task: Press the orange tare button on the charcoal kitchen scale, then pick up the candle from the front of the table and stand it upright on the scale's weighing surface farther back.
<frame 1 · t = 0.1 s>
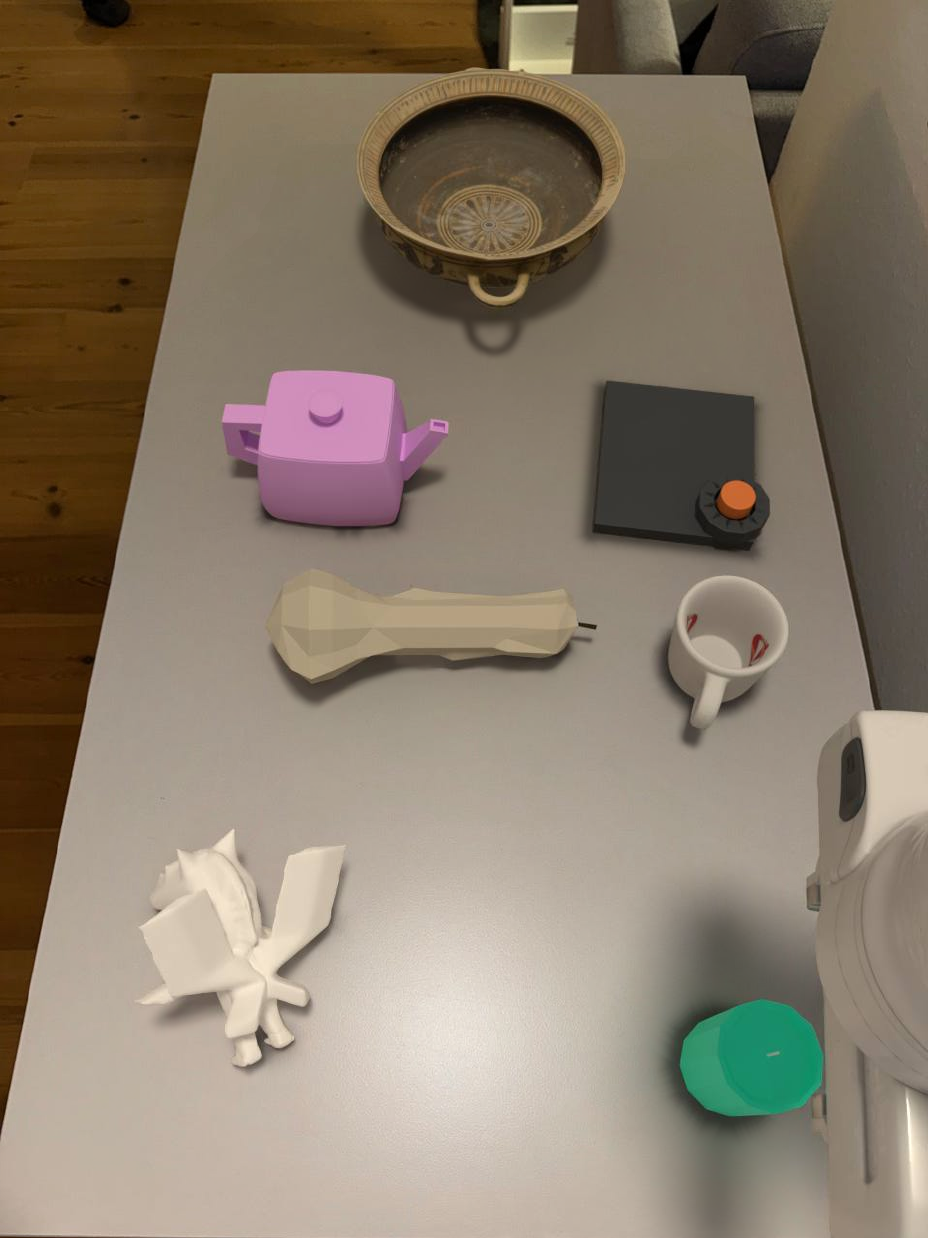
hand: (825, 1001, 47), 23 cm above the table, tool pointing down, fingers open, 8 cm apart
figurine: (240, 951, 70), on the table
tare button: (736, 499, 83), point 3 cm above the table, slide at 0.1 cm
candle: (724, 1065, 67), on the table
ceramic bowl: (487, 244, 100), on the table
cup: (703, 685, 79), on the table
scale: (674, 467, 88), on the table
teapot: (342, 479, 87), on the table
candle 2: (434, 652, 80), on the table
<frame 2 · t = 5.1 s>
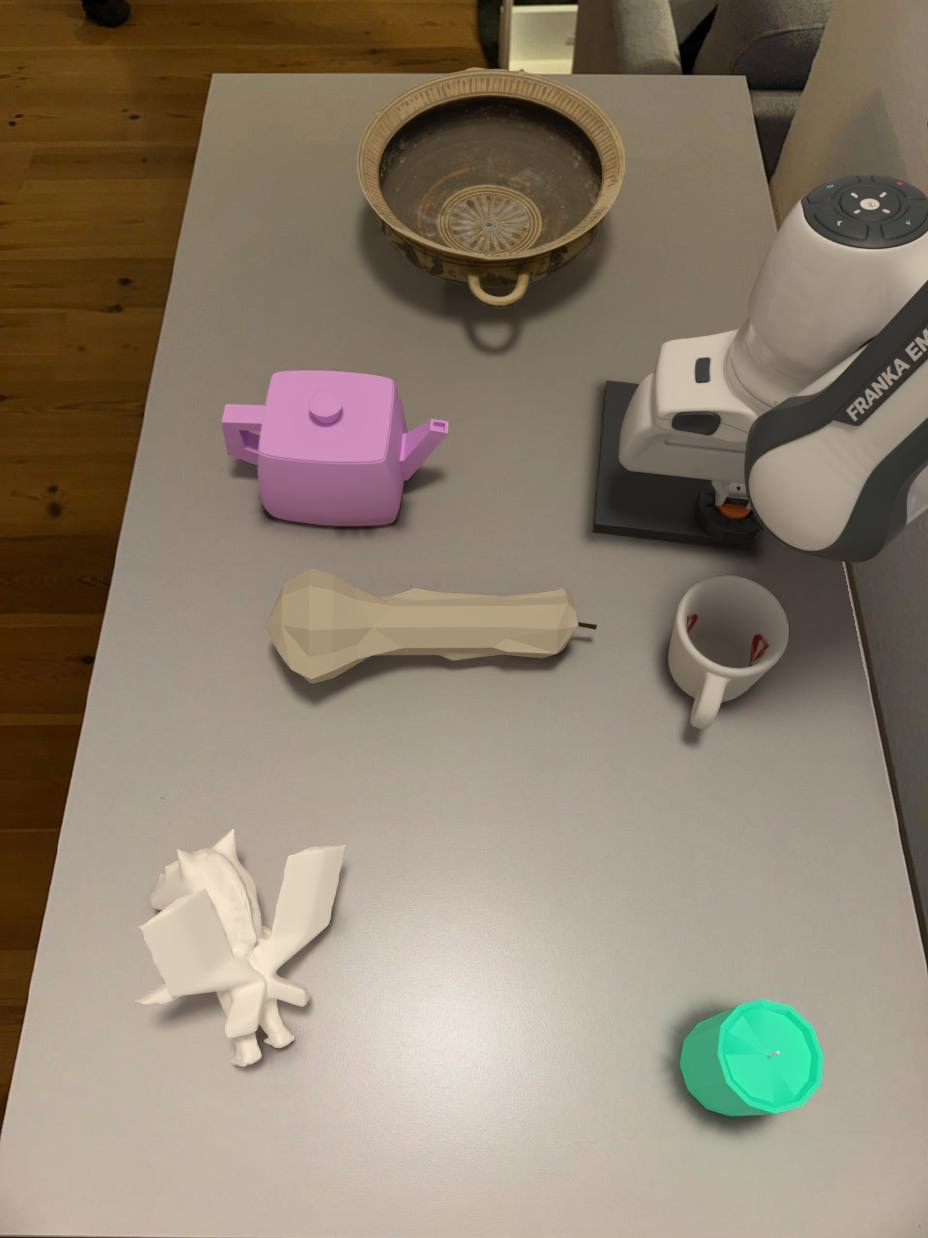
hand: (732, 500, 83), 3 cm above the table, tool pointing down, fingers closed, pressing on tare button
tare button: (733, 505, 83), point 3 cm above the table, slide at -0.7 cm, touching gripper
everything else where it was.
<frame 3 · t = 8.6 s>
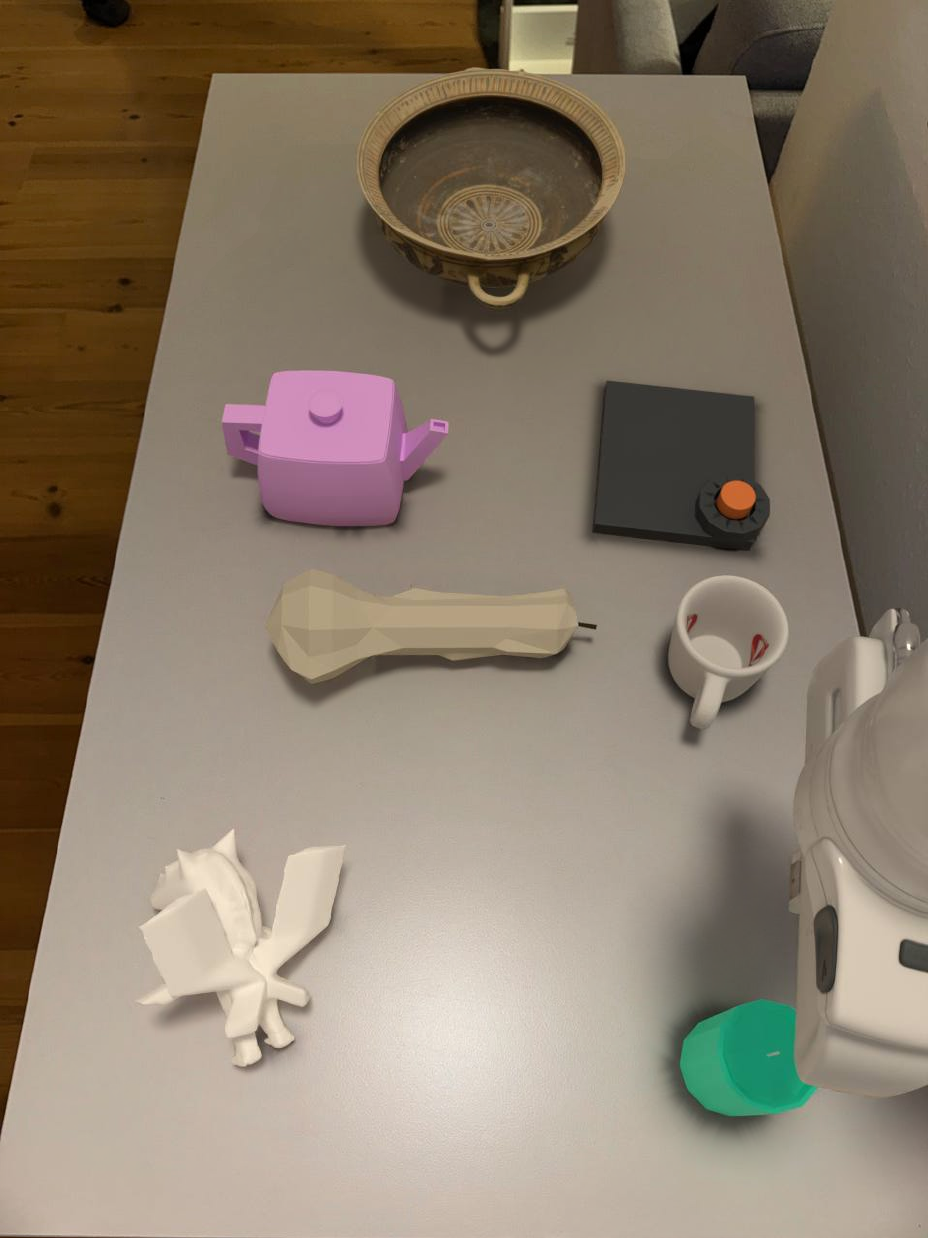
hand: (804, 887, 54), 19 cm above the table, tool pointing down, fingers closed
tare button: (736, 499, 83), point 3 cm above the table, slide at 0.1 cm
everything else where it was.
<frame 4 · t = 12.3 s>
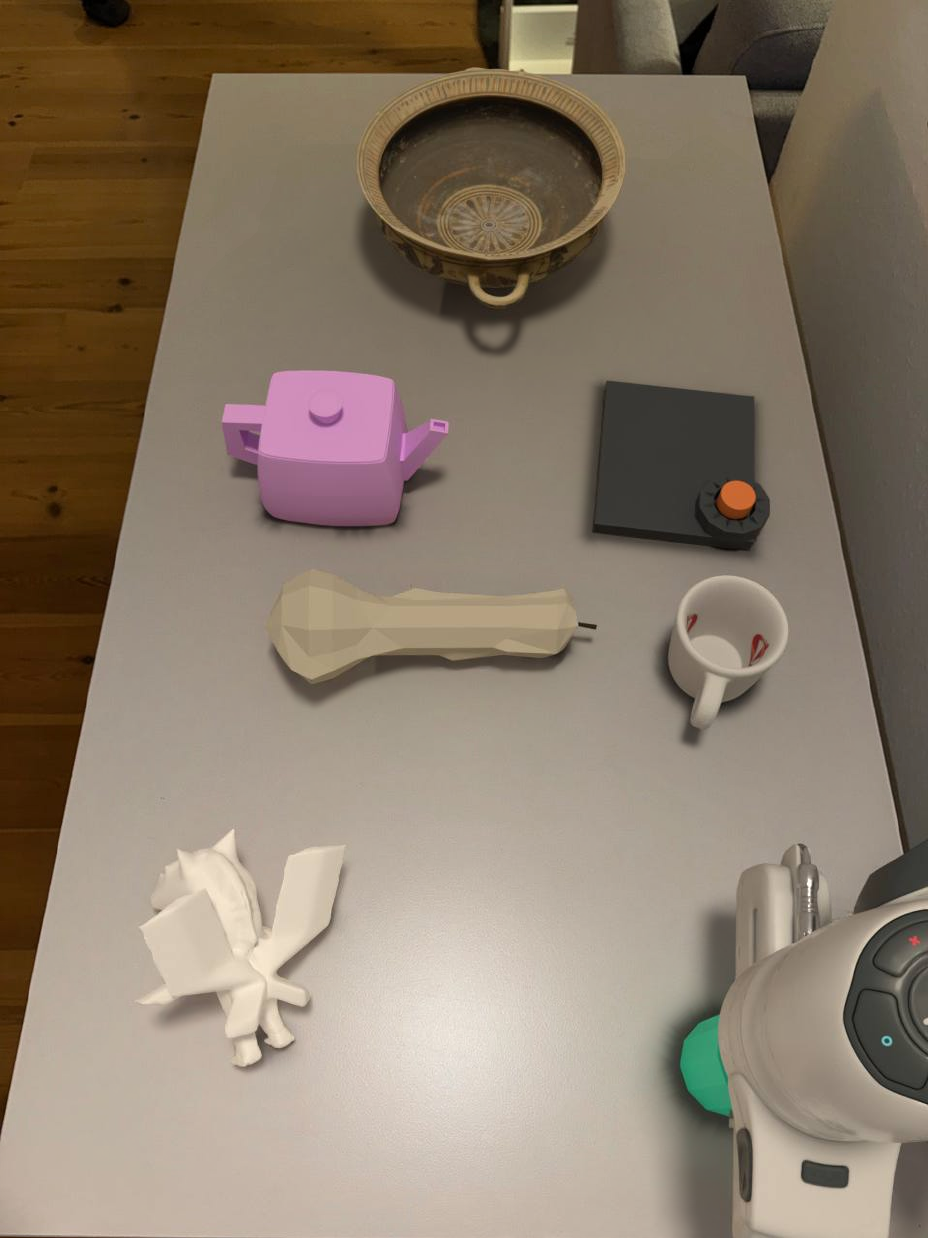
hand: (742, 1058, 63), 5 cm above the table, tool pointing down, fingers closed on candle, 5 cm apart
candle: (724, 1066, 67), on the table, touching gripper
everything else where it was.
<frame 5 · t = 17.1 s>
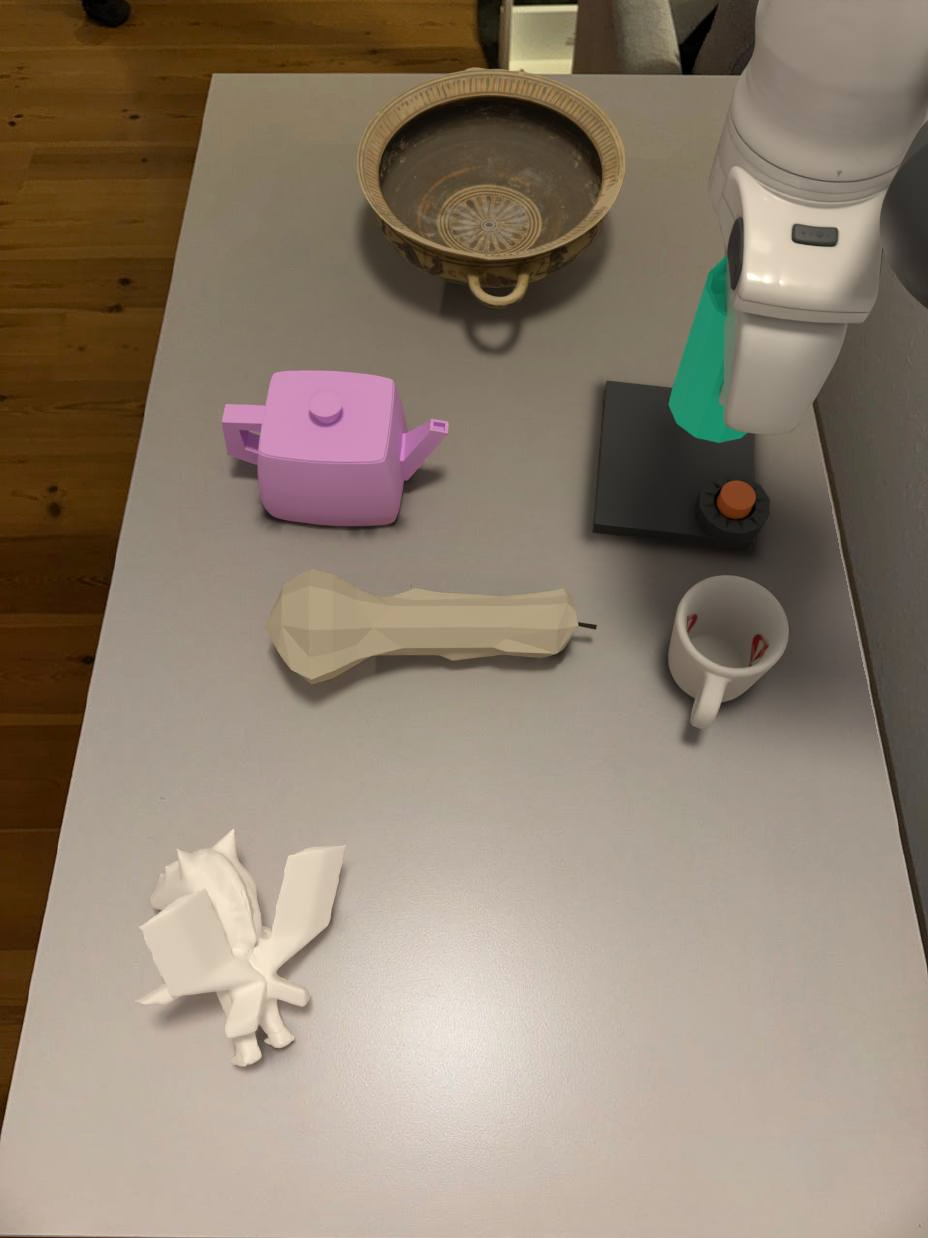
hand: (732, 356, 63), 23 cm above the table, tool pointing down, fingers closed on candle, 5 cm apart
candle: (713, 407, 68), point 19 cm above the table, touching gripper
everything else where it was.
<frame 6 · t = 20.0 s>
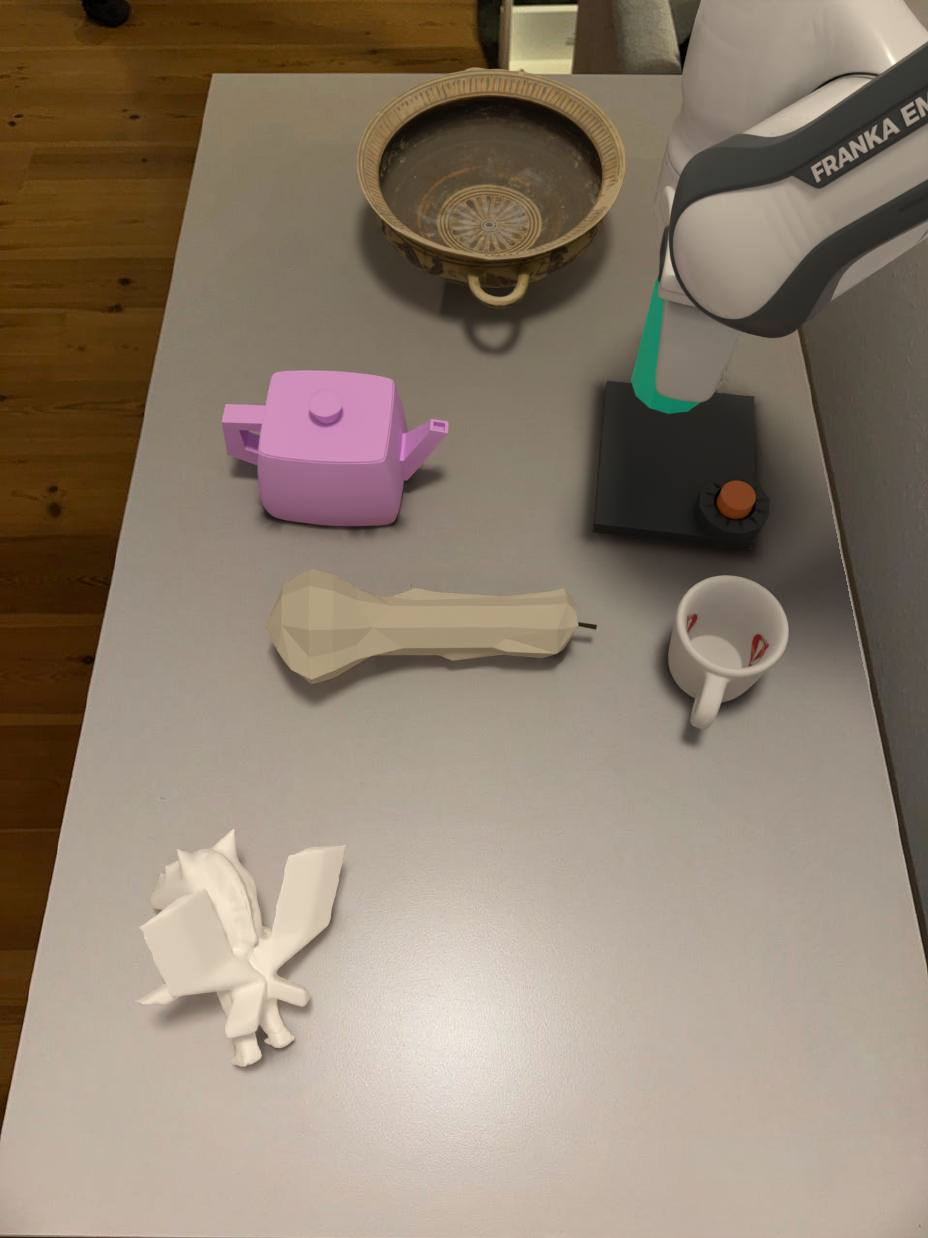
hand: (682, 342, 77), 13 cm above the table, tool pointing down, fingers closed on candle, 5 cm apart
candle: (668, 385, 81), point 9 cm above the table, touching gripper
everything else where it was.
when the fingers open (6 cm above the table, at t = 22.4 s): candle stays where it is, resting on scale.
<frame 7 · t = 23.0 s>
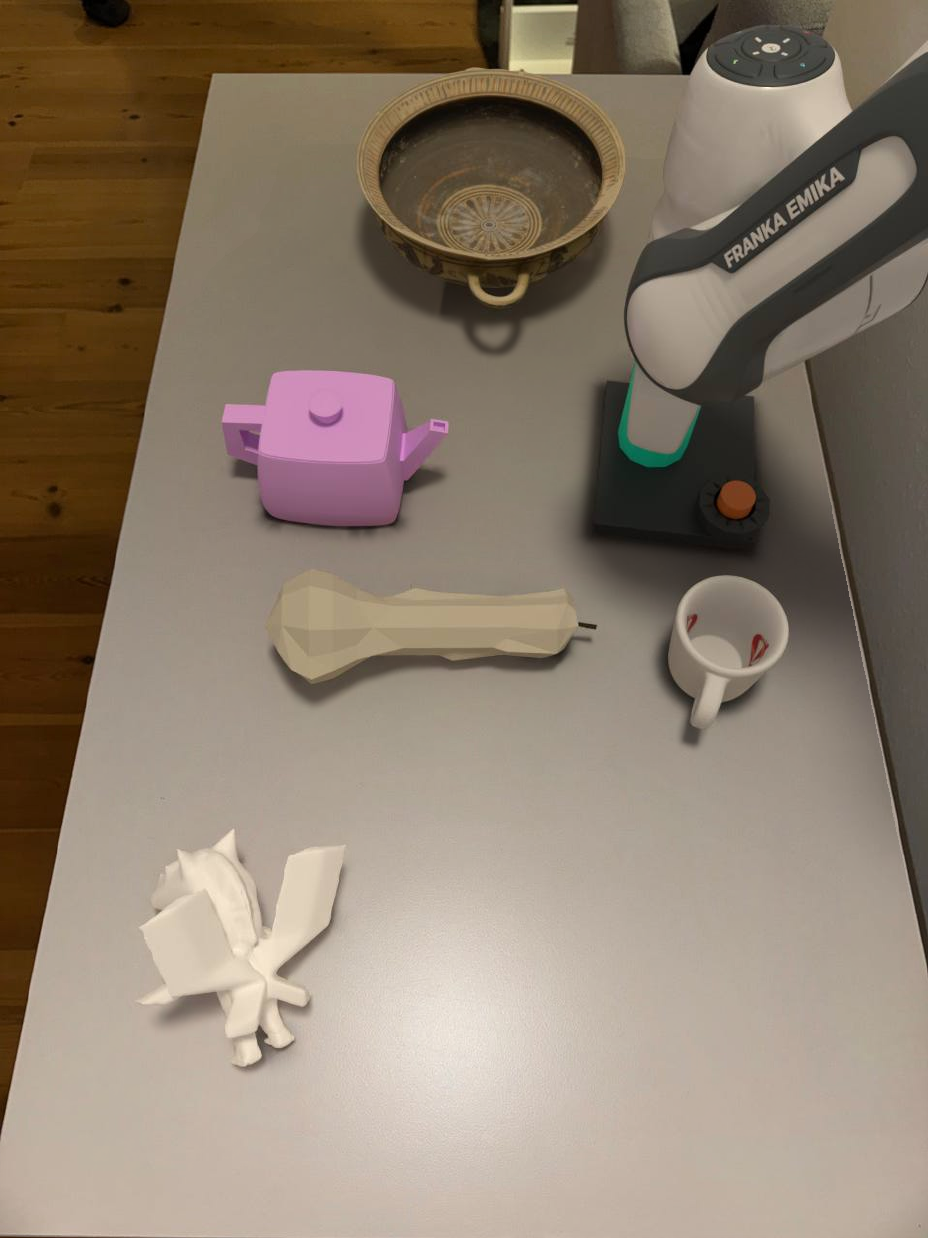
hand: (669, 394, 83), 7 cm above the table, tool pointing down, fingers open, 8 cm apart
candle: (652, 440, 88), point 1 cm above the table, touching scale
everything else where it was.
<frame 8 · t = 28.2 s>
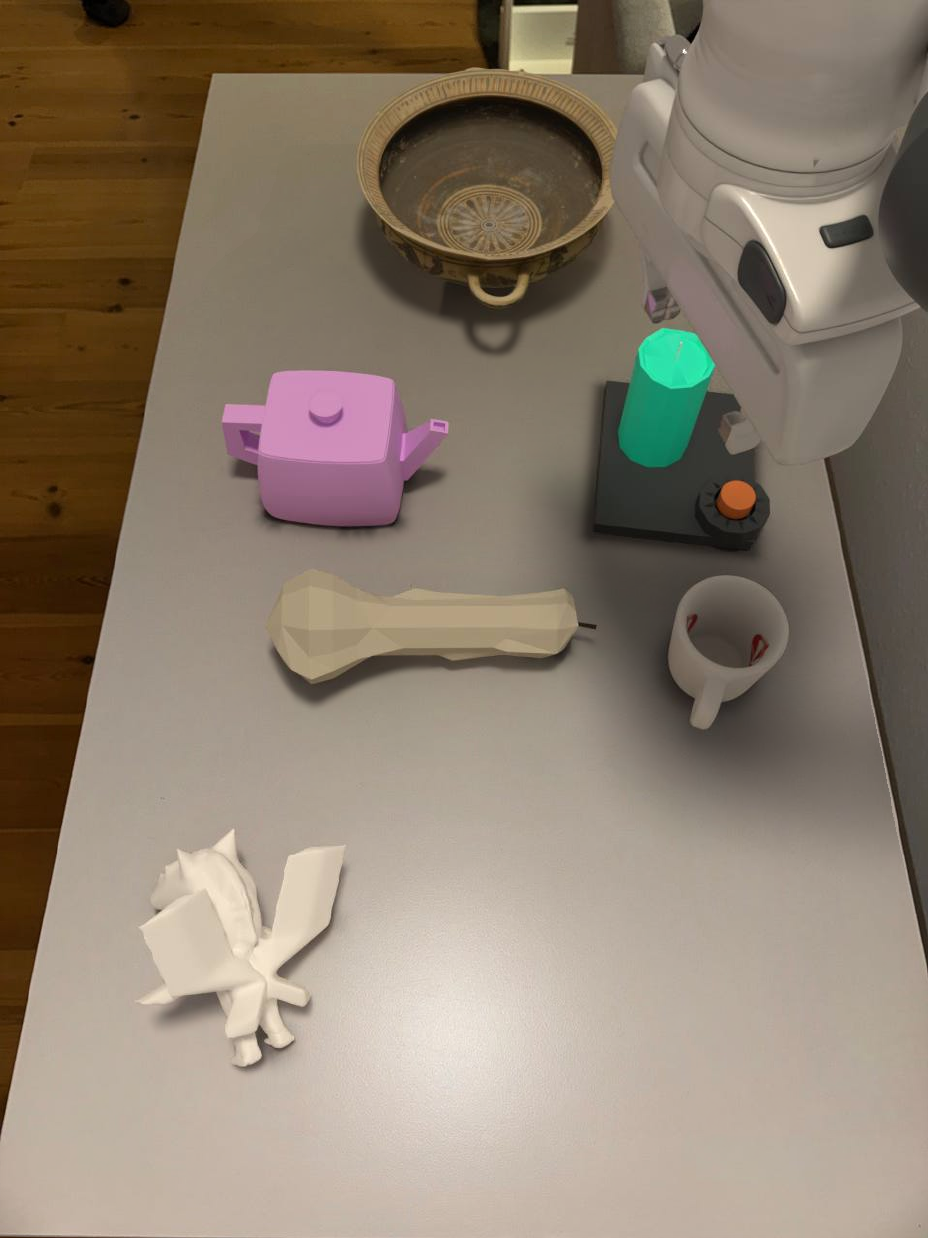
hand: (696, 374, 56), 29 cm above the table, tool pointing down, fingers open, 8 cm apart
nothing on the table moved.
at the end: tare button pushed in 0.9 cm at the most during the clip, back to where it started at the end; candle inside the target area on the scale (0.4 cm from its centre), point 1.2 cm above the scale's base; candle tilted 0° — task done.
